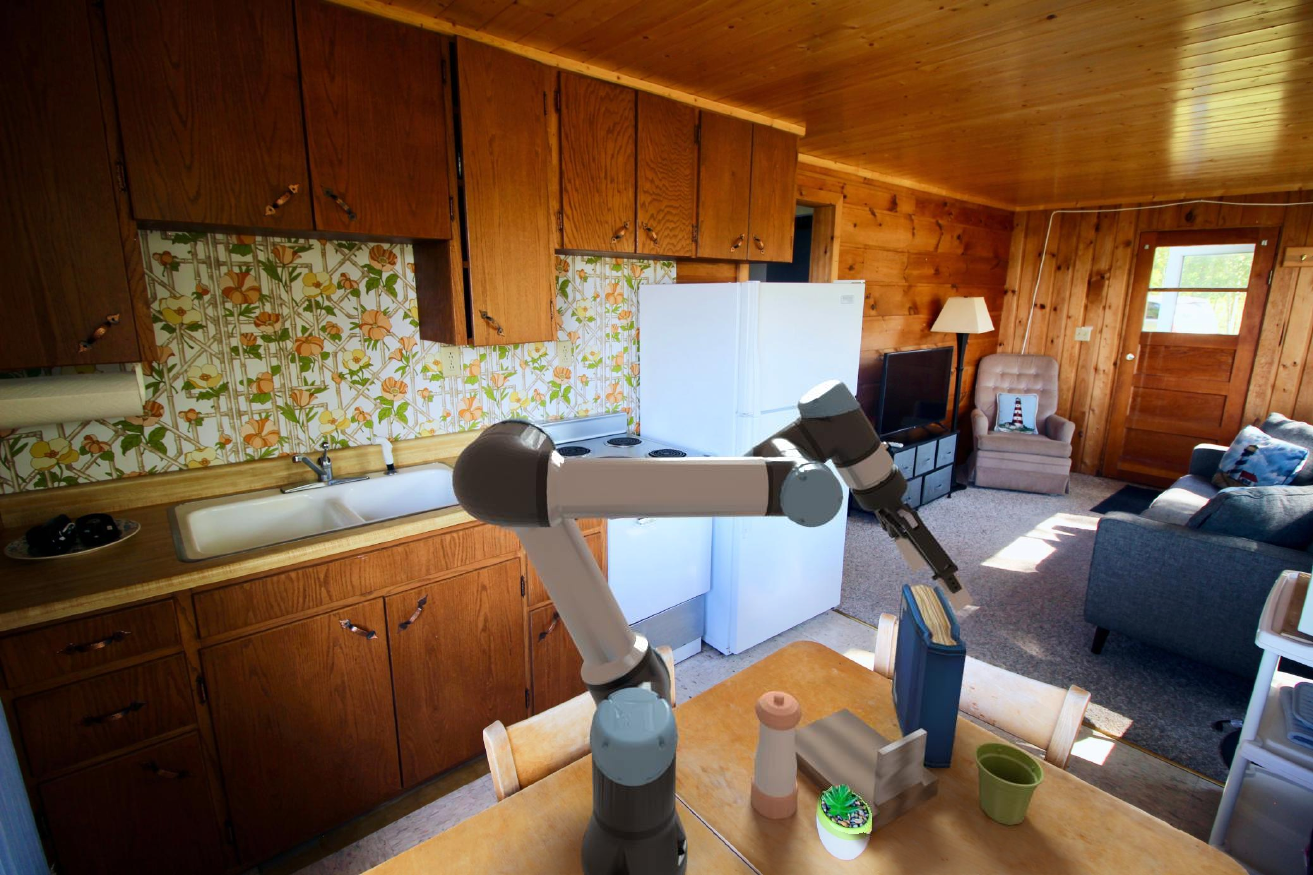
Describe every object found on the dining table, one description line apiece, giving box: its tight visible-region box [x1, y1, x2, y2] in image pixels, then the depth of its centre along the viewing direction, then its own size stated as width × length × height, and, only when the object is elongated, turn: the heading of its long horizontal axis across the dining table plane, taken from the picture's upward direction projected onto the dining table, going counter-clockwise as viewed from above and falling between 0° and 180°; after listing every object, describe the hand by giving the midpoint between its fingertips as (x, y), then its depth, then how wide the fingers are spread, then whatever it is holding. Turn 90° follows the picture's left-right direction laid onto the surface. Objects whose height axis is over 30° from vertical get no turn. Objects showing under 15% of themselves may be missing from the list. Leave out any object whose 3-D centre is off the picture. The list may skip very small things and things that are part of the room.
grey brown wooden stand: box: [795, 707, 940, 834], centre depth 103 cm, size 16×20×12 cm
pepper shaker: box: [750, 690, 803, 820], centre depth 96 cm, size 7×7×19 cm
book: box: [891, 583, 968, 770], centre depth 111 cm, size 22×7×25 cm, turn 168°
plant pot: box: [973, 741, 1045, 826], centre depth 95 cm, size 9×9×9 cm
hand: (940, 585), depth 95 cm, fingers open, 13 cm apart
